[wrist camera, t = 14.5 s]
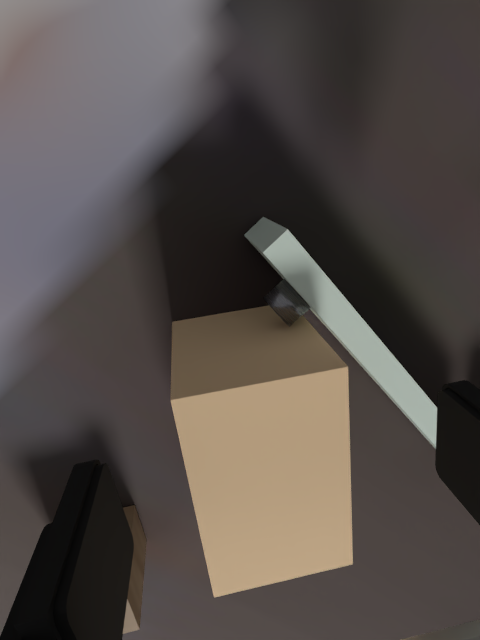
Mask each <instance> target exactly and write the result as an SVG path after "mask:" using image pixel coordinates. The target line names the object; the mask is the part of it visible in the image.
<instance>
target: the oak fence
mask: <svg viewBox="0 0 480 640" xmlns="http://www.w3.org/2000/svg"><path fill="white" fill-rule="evenodd" d="M123 510H124V513H125V515H126V518H127V521H128V524H129V527H130V530H131V532H132V536H133V541H134V552H133V559H132V567H131V575H130V582H129V590H128V597H127V605H126V612H125V620H124V628H123V634H124V633H128V632H132V631H136V630H139V629H140V617H141V605H142V592H143V579H144V566H145V554H146V541H147V540H146V537H145V534H144V531H143V528H142V525H141V522H140V519H139V516H138V514H137V511H136V508H135V505H132V506H128V507H124V508H123Z"/></svg>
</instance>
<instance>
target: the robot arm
mask: <svg viewBox="0 0 480 640" xmlns="http://www.w3.org/2000/svg"><path fill="white" fill-rule="evenodd" d="M435 465H436V470H437V473H438V475H439V477H440V478H441V480H442V481H443V482H444V483H445V484H446V486H447V487H448V488H449V489H450V490H451V492H452V493H453V494H454V495H455V496H456V497H457V499H458V500H459V501H460V502H461V503H462V505H463V506H464V507H465V508H466V509H467V510H468V512H469V513H470V514H471V515H472V516H473V518H474V519H475V520H476V521H477V522H478V523H479V525H480V389H478V388H477V387H475V386H474V385H473V384H471V383H470V382H468V381H465V380H463V381H458V382H454V383H449V384H445V385H444V386H443V388H442V391H439V393H438V399H437V431H436V462H435ZM133 552H134V541H133V536H132V532H131V530H130V527H129V524H128V521H127V518H126V515H125V513H124V510H123V507H122V504H121V501H120V498H119V496H118V493H117V490H116V487H115V484H114V481H113V479H112V476H111V473H110V470H109V467H108V465H107V464H101V463H100V461H99V460H93V461H88V462H83V463H79V464H76V465H75V466H74V467H73V470H72V472H71V475H70V478H69V480H68V483H67V486H66V488H65V491H64V494H63V496H62V499H61V502H60V504H59V507H58V510H57V512H56V515H55V518H54V520H53V523H51V524H47V525H46V526H45V527H44V529H43V531H42V533H41V535H40V538H39V540H38V543H37V545H36V548H35V550H34V553H33V555H32V558H31V560H30V563H29V565H28V568H27V571H26V573H25V576H24V578H23V581H22V583H21V586H20V588H19V591H18V593H17V596H16V598H15V601H14V603H13V606H12V608H11V611H10V613H9V616H8V618H7V621H6V624H5V626H4V629H3V631H2V634H1V636H0V640H122V635H123V628H124V620H125V612H126V605H127V597H128V590H129V582H130V575H131V567H132V559H133ZM402 640H480V620H476V621H472V622H468V623H464V624H460V625H456V626H452V627H448V628H444V629H441V630H437V631H433V632H429V633H425V634H421V635H418V636H414V637H410V638H406V639H402Z"/></svg>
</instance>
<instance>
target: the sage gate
mask: <svg viewBox="0 0 480 640" xmlns="http://www.w3.org/2000/svg"><path fill="white" fill-rule="evenodd" d="M244 236H245V237H246V238H247V239H248V240H249V241H250V243H251V244H252V245H253V246H254V247H255V248H256V249H257V250H258V251H259V253H260V254H261V255H262V256H263V257H264V258H265V259H266V260H267V262H268V263H269V264H270V265H271V266H272V267H273V268H274V269H275V270H276V272H277V273H278V274H279V275H280V276H281V277H282V278H283V280H282V281H281V282H280V283H279V284H278V285H277V286H276V287H274V288H273V289H272V290H271V291H270V292H269V293H268V294H267V295H266V296H265V297H263V298H264V300H265V301H266V302H267V303H268V304H269V306H270V307H271V308H272V309H273V310H274V311H275V312H276V314H277V315H278V316H279V317H280V318H281V319H282V320H283V321H284V322H285V323H286V324H287V325H288V326H289V327H290V326H291V325H292V324H293V323H294V322H295V321H296V320H298V319H299V318H300V317H301V316H302V315H303V314H304V313H305V312H307V311H308V310H309V309H311V311H312V312H313V313H314V314H315V315H316V316H317V317H318V318H319V320H320V321H321V322H322V323H323V324H324V325H325V326H326V327H327V328H328V330H329V331H330V332H331V333H332V334H333V335H334V336H335V337H336V338H337V340H338V341H339V342H340V343H341V344H342V345H343V346H344V347H345V349H346V350H347V351H348V352H349V353H350V354H351V355H352V356H353V357H354V359H355V360H356V361H357V362H358V363H359V364H360V365H361V366H362V367H363V369H364V370H365V371H366V372H367V373H368V374H369V375H370V376H371V378H372V379H373V380H374V381H375V382H376V383H377V384H378V385H379V386H380V388H381V389H382V390H383V391H384V392H385V393H386V394H387V395H388V397H389V398H390V399H391V400H392V401H393V402H394V403H395V404H396V405H397V407H398V408H399V409H400V410H401V411H402V412H403V413H404V414H405V415H406V417H407V418H408V419H409V420H410V421H411V422H412V423H413V424H414V426H415V427H416V428H417V429H418V430H419V431H420V432H421V433H422V434H423V436H424V437H425V438H426V439H427V440H428V441H429V442H430V443H431V444H432V446H433V447H434V448H435V449H436V431H437V407H436V406H435V405H434V403H433V402H432V401H431V400H430V399H429V397H428V396H427V395H426V394H425V393H424V391H423V390H422V389H421V388H420V387H419V385H418V384H417V383H416V382H415V381H414V379H413V378H412V377H411V376H410V375H409V373H408V372H407V371H406V370H405V369H404V368H403V366H402V365H401V364H400V363H399V362H398V360H397V359H396V358H395V357H394V356H393V354H392V353H391V352H390V351H389V350H388V348H387V347H386V346H385V345H384V344H383V342H382V341H381V340H380V339H379V338H378V336H377V335H376V334H375V333H374V332H373V330H372V329H371V328H370V327H369V326H368V324H367V323H366V322H365V321H364V320H363V318H362V317H361V316H360V315H359V314H358V313H357V311H356V310H355V309H354V308H353V307H352V305H351V304H350V303H349V302H348V301H347V299H346V298H345V297H344V296H343V295H342V293H341V292H340V291H339V290H338V289H337V287H336V286H335V285H334V284H333V283H332V281H331V280H330V279H329V278H328V277H327V275H326V274H325V273H324V272H323V271H322V269H321V268H320V267H319V266H318V265H317V263H316V262H315V261H314V260H313V259H312V257H311V256H310V255H309V254H308V253H307V252H306V250H305V249H304V248H303V247H302V246H301V244H300V243H299V242H298V241H297V240H296V238H295V237H294V236H293V235H292V234H291V232H290V231H289V230H288V229H287V228H285V227H283V226H281V225H279V224H277V223H275V222H273V221H271V220H269V219H267V218H265V217H263V218H261V219H260V220H259V221H258V222H257V223H256V224H255V225H254V226H253V227H252V228H251V229H250V230H249V231H248V232H247V233H246V234H245V235H244Z"/></svg>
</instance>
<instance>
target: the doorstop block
mask: <svg viewBox="0 0 480 640" xmlns="http://www.w3.org/2000/svg"><path fill="white" fill-rule="evenodd" d="M171 404H172V409H173V413H174V418H175V422H176V427H177V431H178V436H179V440H180V445H181V450H182V454H183V459H184V463H185V468H186V472H187V477H188V481H189V486H190V490H191V495H192V499H193V504H194V509H195V513H196V518H197V522H198V527H199V531H200V536H201V540H202V545H203V549H204V554H205V558H206V563H207V567H208V572H209V577H210V581H211V586H212V590H213V595H214V597H218V596H222V595H226V594H231V593H235V592H239V591H243V590H247V589H251V588H256V587H260V586H264V585H268V584H272V583H276V582H281V581H285V580H289V579H293V578H297V577H301V576H306V575H310V574H314V573H318V572H322V571H326V570H331V569H335V568H339V567H343V566H347V565H351V564H353V552H352V511H351V470H350V428H349V387H348V366H347V365H346V364H345V363H344V362H343V361H342V359H341V358H340V357H339V356H338V355H337V354H336V353H335V351H334V350H333V349H332V348H331V347H330V346H329V345H328V344H327V342H326V341H325V340H324V339H323V338H322V337H321V336H320V335H319V333H318V332H317V331H316V330H315V329H314V328H313V327H312V325H311V324H310V323H309V322H308V321H307V320H306V319H305V318H304V316H303V315H302V316H301V317H300V318H299V319H298V320H296V321H295V322H294V323H293V324H292V325H291V326H290V327H289V326H288V325H287V324H286V323H285V322H284V321H283V320H282V319H281V318H280V317H279V316H278V315H277V314H276V312H275V311H274V310H273V309H272V308H271V307H270V306H269V305H268V306H262V307H257V308H251V309H245V310H239V311H233V312H227V313H221V314H215V315H209V316H203V317H198V318H192V319H186V320H180V321H174V322H172V359H171Z"/></svg>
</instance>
